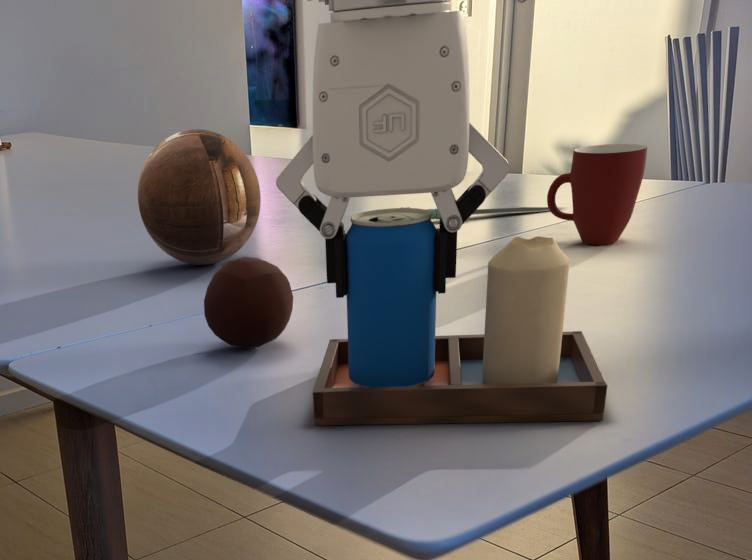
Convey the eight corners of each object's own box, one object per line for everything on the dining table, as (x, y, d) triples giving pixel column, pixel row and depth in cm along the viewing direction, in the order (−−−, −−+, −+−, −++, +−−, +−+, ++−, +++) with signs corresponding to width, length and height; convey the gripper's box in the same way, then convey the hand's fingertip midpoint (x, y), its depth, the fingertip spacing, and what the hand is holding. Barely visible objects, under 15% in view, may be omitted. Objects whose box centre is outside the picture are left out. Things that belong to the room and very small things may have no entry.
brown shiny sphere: (137, 261, 121) (119, 132, 113) (246, 246, 124) (235, 119, 116) (161, 283, 109) (141, 141, 100) (280, 266, 112) (271, 126, 104)
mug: (542, 250, 109) (550, 156, 103) (544, 236, 115) (551, 147, 109) (636, 248, 106) (650, 151, 100) (633, 234, 112) (645, 142, 107)
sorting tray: (578, 362, 73) (581, 330, 72) (602, 420, 63) (607, 385, 61) (330, 369, 77) (329, 339, 75) (314, 425, 66) (312, 391, 65)
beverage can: (401, 366, 74) (402, 203, 67) (451, 386, 69) (457, 213, 62) (333, 383, 71) (327, 217, 65) (379, 405, 67) (378, 227, 60)
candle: (509, 398, 66) (519, 250, 60) (467, 378, 70) (474, 238, 65) (573, 384, 67) (589, 238, 62) (528, 365, 72) (539, 227, 66)
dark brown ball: (257, 327, 89) (251, 243, 85) (317, 345, 83) (313, 255, 79) (188, 346, 85) (177, 259, 81) (244, 366, 79) (236, 273, 75)
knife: (404, 211, 125) (395, 201, 129) (403, 227, 126) (393, 218, 130) (566, 203, 128) (552, 194, 132) (563, 219, 129) (549, 210, 133)
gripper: (242, 2, 55) (266, 309, 65) (540, -27, 52) (517, 299, 62) (261, 3, 61) (280, 284, 71) (529, -22, 58) (510, 274, 68)
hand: (391, 288), depth 66 cm, fingers closed on beverage can, 6 cm apart
